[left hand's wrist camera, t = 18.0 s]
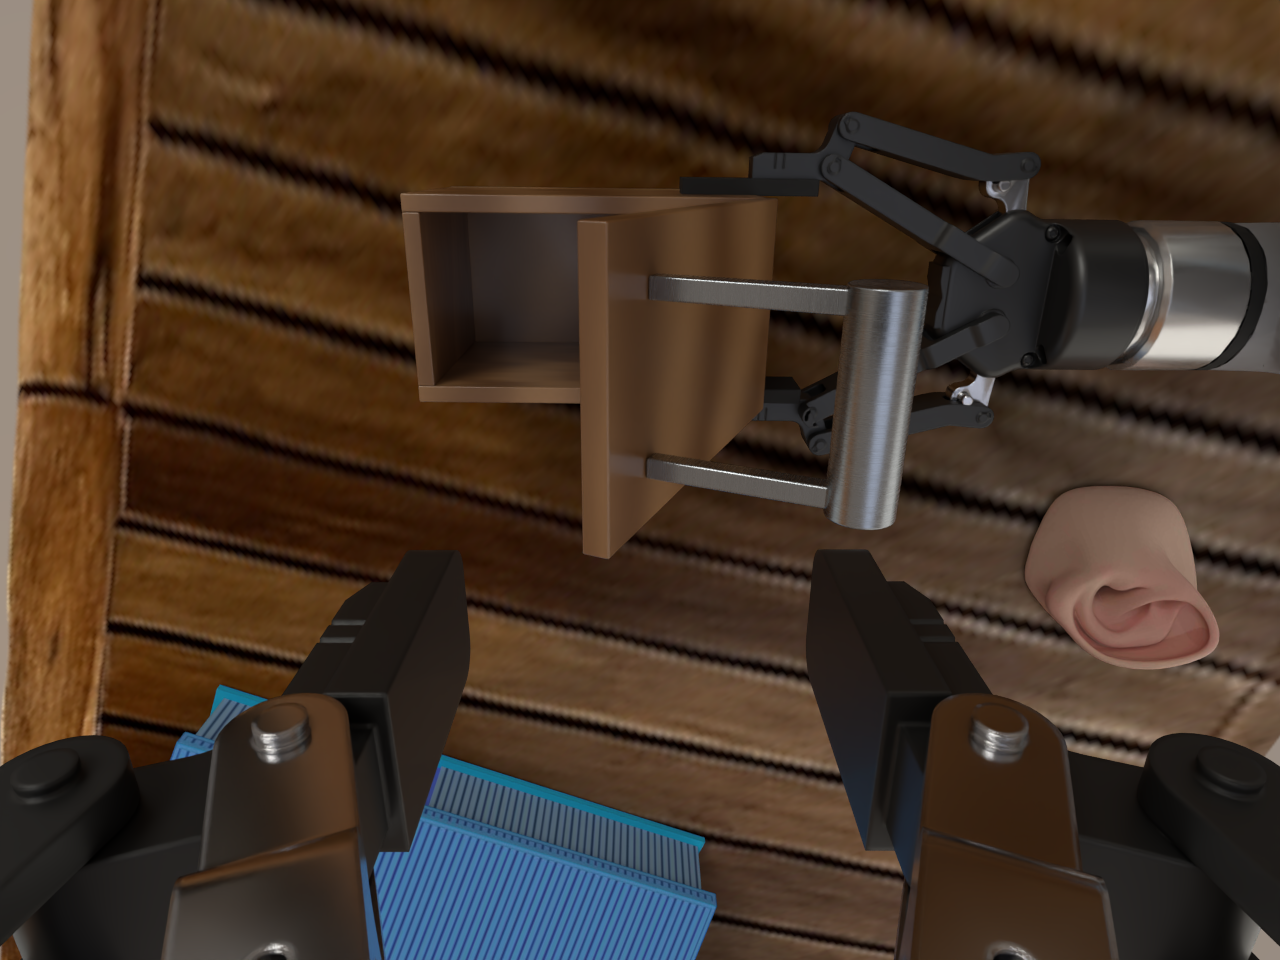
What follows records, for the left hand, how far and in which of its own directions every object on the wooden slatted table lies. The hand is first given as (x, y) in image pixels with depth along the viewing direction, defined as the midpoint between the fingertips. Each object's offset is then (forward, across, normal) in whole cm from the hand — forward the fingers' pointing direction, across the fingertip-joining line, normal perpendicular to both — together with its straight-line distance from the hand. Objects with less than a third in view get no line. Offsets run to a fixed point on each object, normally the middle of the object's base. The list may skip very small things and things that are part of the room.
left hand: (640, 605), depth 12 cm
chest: (+38, -3, 0) cm, 38 cm away
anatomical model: (+38, +32, -20) cm, 54 cm away
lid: (+19, +2, 0) cm, 19 cm away
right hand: (+31, +2, 0) cm, 31 cm away
